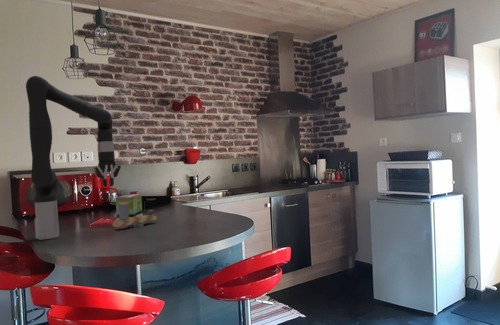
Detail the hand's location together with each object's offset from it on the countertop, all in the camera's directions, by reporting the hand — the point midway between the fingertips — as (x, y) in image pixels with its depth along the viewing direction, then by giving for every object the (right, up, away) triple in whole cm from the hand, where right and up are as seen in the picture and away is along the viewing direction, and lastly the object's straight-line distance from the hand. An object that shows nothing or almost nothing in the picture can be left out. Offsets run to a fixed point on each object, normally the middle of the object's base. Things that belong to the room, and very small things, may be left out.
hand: (108, 186), depth 191 cm
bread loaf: (+10, -21, +10) cm, 26 cm away
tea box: (+2, -22, +27) cm, 35 cm away
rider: (+6, -17, +5) cm, 19 cm away
